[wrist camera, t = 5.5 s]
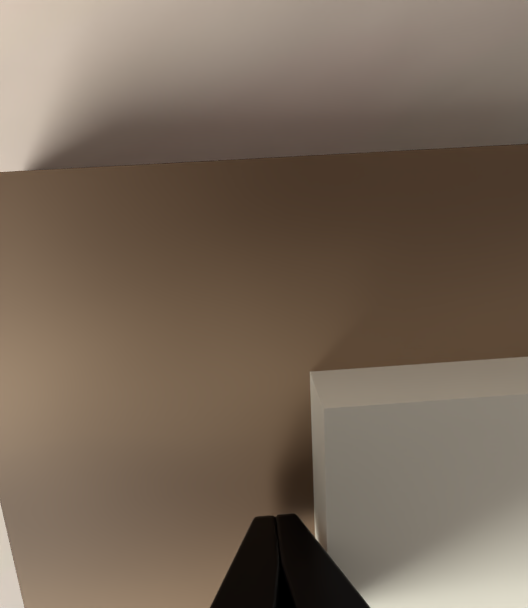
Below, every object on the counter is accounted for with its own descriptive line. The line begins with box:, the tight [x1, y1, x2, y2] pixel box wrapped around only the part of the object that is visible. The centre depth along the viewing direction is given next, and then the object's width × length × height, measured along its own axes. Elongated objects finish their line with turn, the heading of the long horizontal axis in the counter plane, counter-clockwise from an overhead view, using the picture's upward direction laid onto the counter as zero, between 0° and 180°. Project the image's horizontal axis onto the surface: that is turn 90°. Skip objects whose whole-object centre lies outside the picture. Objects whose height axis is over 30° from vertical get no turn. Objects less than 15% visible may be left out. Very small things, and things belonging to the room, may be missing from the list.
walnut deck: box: [0, 144, 528, 608], centre depth 11 cm, size 14×12×3 cm
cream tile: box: [310, 357, 528, 608], centre depth 9 cm, size 6×8×2 cm
